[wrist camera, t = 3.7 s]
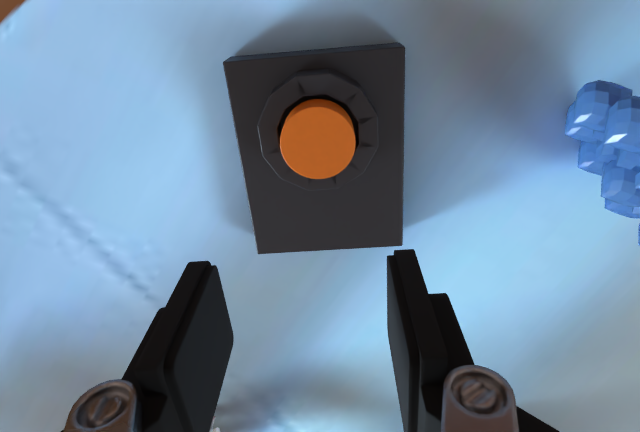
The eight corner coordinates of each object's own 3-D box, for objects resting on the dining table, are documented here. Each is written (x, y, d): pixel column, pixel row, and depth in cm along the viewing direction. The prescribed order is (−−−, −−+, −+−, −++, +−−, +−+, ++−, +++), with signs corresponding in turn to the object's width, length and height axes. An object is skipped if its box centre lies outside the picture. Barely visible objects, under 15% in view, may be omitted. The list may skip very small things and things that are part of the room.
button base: (230, 56, 27) (215, 66, 24) (399, 42, 27) (410, 50, 23) (261, 239, 34) (253, 268, 31) (398, 231, 33) (406, 259, 30)
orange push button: (278, 101, 25) (275, 109, 24) (352, 95, 25) (353, 103, 23) (287, 169, 27) (284, 181, 26) (355, 164, 27) (357, 176, 25)
